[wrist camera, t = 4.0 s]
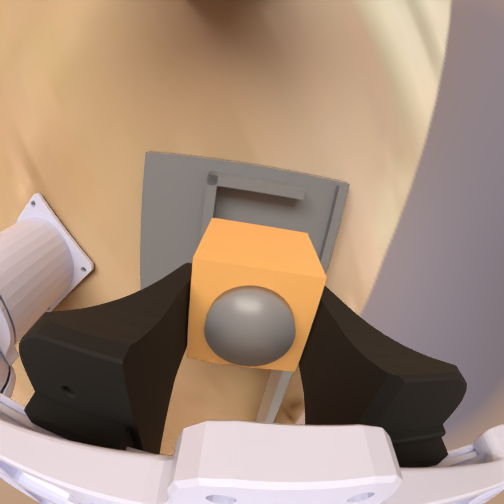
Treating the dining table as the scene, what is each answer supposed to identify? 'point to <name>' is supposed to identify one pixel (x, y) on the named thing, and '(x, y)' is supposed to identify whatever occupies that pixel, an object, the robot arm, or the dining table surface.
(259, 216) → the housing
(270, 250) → the orange knob block
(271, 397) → the cover bar
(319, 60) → the dining table surface
